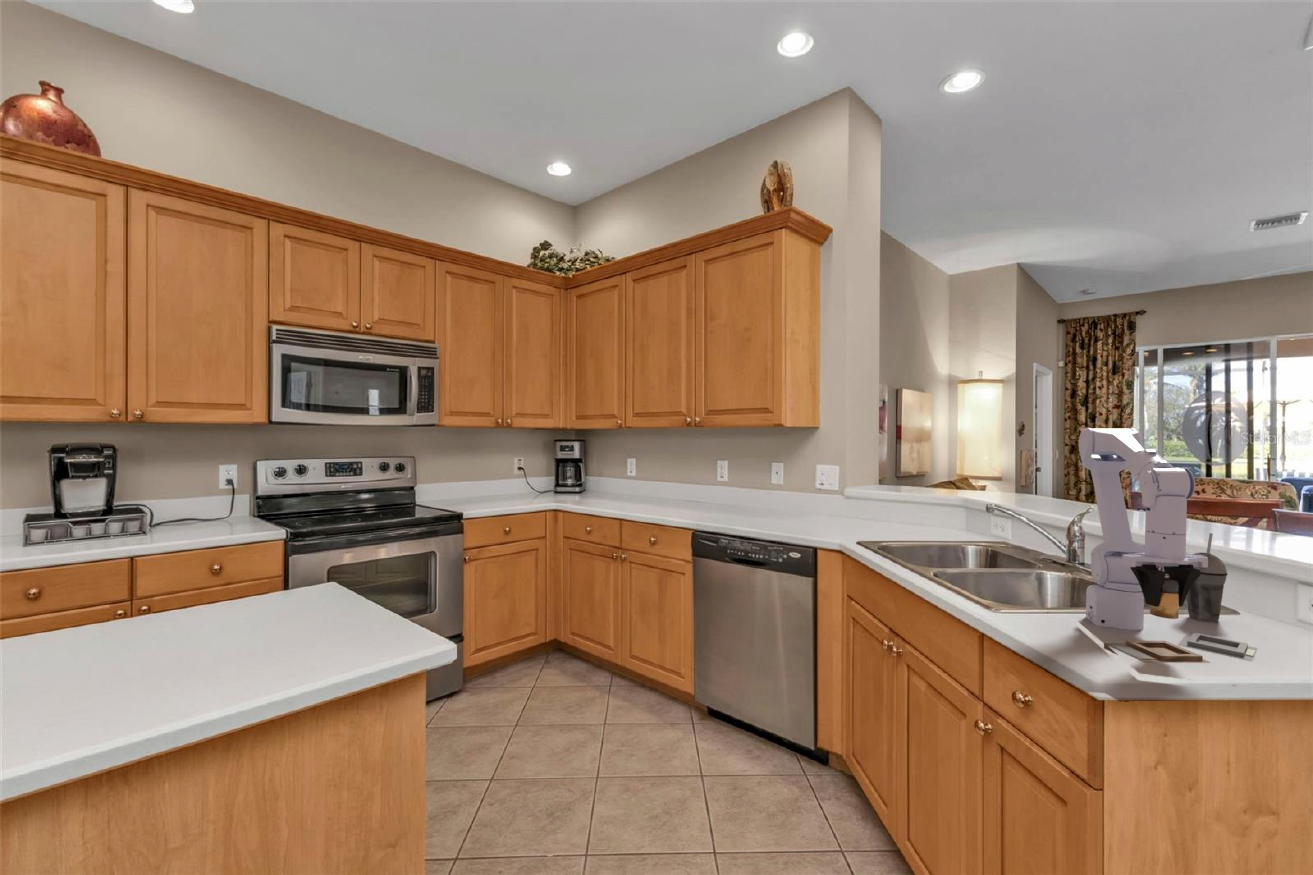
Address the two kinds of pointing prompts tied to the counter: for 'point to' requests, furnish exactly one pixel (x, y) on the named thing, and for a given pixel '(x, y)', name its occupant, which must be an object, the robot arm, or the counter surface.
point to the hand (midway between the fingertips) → (1163, 605)
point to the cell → (1168, 599)
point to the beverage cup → (1207, 589)
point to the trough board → (1155, 651)
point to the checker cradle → (1219, 646)
